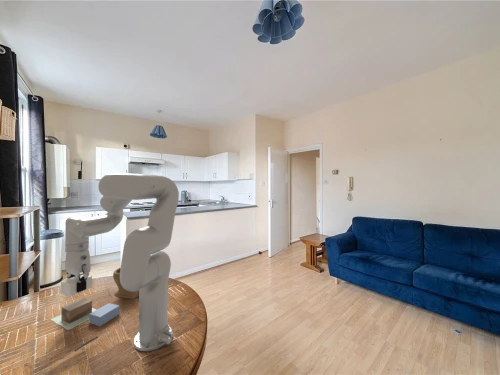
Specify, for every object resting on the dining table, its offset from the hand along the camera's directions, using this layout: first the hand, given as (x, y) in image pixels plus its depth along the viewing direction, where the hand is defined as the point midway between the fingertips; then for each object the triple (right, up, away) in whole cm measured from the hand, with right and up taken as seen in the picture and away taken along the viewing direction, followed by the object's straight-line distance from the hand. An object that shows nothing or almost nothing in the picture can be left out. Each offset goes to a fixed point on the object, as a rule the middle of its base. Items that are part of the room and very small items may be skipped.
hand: (76, 288), depth 86 cm
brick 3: (+13, -13, -1) cm, 18 cm away
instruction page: (+11, -13, -12) cm, 21 cm away
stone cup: (+12, -13, +18) cm, 25 cm away
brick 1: (0, -1, 0) cm, 1 cm away
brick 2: (0, -11, 0) cm, 11 cm away
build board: (0, -13, 0) cm, 13 cm away
